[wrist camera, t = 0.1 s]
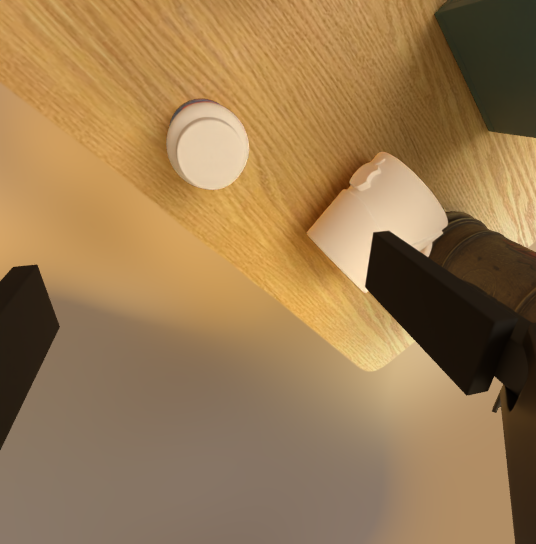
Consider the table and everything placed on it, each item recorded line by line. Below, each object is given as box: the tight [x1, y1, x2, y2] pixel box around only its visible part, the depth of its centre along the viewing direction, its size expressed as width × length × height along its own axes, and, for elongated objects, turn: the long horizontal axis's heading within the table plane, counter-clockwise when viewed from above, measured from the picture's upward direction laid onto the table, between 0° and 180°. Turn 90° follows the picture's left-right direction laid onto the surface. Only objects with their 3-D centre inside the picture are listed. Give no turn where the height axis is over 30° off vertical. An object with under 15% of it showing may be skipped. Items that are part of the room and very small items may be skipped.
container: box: [429, 212, 536, 323], centre depth 32 cm, size 9×9×18 cm
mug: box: [307, 152, 448, 293], centre depth 32 cm, size 12×9×8 cm
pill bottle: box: [166, 99, 249, 190], centre depth 24 cm, size 6×5×10 cm
